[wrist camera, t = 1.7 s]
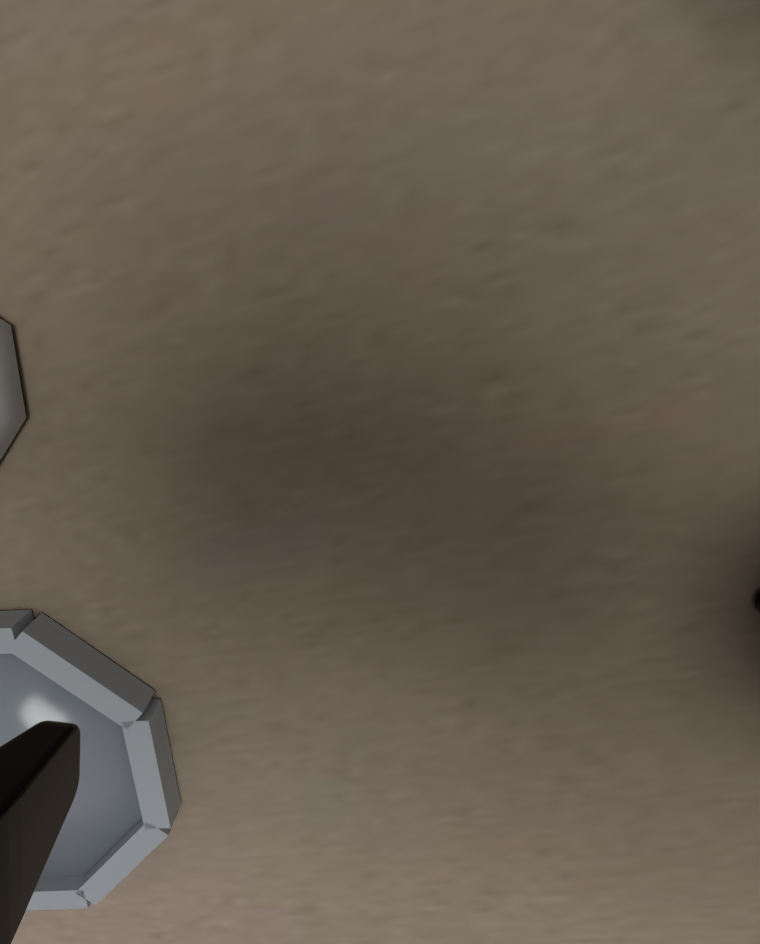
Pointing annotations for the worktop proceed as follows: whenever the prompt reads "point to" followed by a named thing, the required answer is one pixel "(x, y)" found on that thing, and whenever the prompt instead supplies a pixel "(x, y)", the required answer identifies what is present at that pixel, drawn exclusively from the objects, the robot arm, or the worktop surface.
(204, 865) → the worktop surface
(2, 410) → the flask
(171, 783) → the rimmed tray
